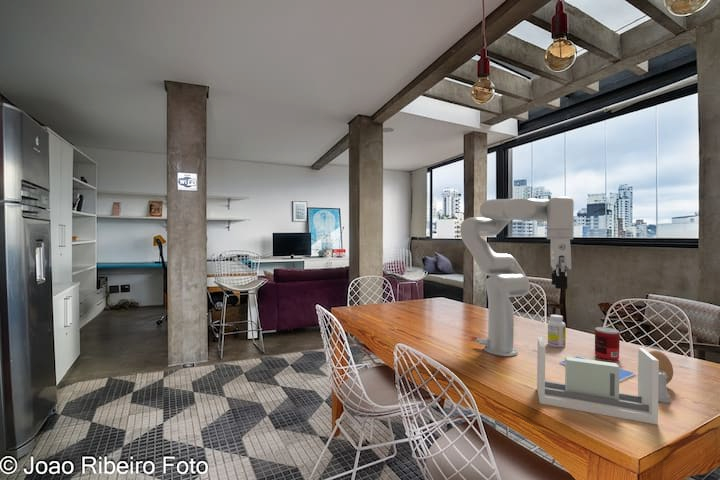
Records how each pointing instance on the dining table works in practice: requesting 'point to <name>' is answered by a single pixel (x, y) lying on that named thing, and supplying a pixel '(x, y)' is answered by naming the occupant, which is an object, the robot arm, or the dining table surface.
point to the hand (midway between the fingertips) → (559, 286)
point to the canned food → (607, 343)
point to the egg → (663, 364)
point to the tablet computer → (622, 373)
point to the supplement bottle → (556, 331)
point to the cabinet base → (625, 407)
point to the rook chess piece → (663, 388)
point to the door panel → (592, 377)
